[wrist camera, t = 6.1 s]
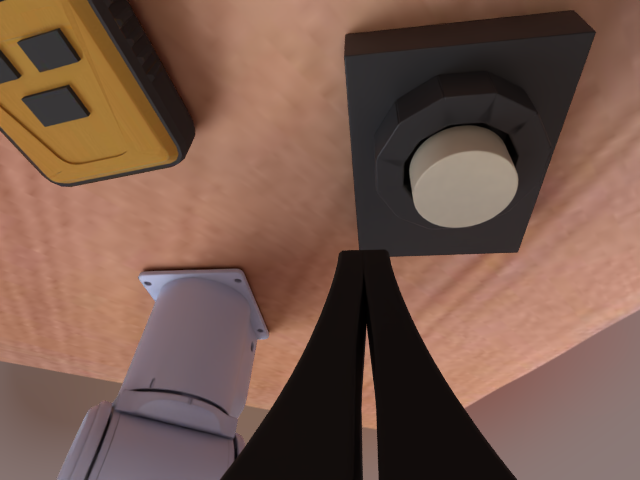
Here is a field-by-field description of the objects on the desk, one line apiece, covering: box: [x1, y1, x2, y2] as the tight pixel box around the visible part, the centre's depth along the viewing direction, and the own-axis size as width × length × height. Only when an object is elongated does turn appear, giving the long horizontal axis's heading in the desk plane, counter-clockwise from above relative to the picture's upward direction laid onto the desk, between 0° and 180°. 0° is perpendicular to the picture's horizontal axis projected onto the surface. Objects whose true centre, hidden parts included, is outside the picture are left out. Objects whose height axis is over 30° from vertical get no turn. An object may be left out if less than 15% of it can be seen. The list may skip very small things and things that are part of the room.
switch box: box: [344, 11, 596, 257], centre depth 19 cm, size 12×9×4 cm
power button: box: [409, 125, 518, 228], centre depth 17 cm, size 4×4×2 cm
